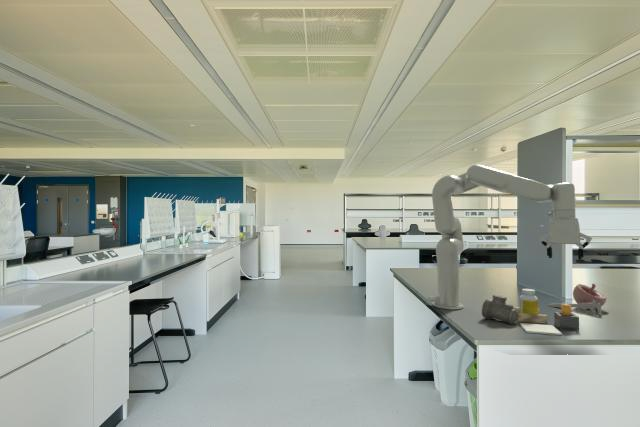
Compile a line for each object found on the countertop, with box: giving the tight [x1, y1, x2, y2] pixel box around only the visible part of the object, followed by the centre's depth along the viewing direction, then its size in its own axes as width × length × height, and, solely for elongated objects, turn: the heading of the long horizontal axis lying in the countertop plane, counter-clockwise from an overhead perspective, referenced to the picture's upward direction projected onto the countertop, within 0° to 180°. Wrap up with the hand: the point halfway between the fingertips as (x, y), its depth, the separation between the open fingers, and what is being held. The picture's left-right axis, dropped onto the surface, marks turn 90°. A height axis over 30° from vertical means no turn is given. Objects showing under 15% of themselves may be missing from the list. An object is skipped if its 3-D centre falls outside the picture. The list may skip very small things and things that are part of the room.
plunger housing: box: [553, 311, 580, 332], centre depth 134 cm, size 6×6×5 cm
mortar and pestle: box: [572, 283, 607, 310], centre depth 162 cm, size 12×12×12 cm
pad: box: [519, 322, 563, 336], centre depth 132 cm, size 11×10×1 cm
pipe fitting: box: [481, 294, 518, 325], centre depth 143 cm, size 12×8×10 cm
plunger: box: [560, 303, 572, 316], centre depth 134 cm, size 3×3×5 cm
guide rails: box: [514, 306, 548, 324], centre depth 147 cm, size 10×11×3 cm
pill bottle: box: [519, 288, 539, 314], centre depth 147 cm, size 6×6×12 cm
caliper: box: [547, 300, 602, 316], centre depth 160 cm, size 21×1×6 cm, turn 32°
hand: (564, 258), depth 142 cm, fingers open, 9 cm apart
